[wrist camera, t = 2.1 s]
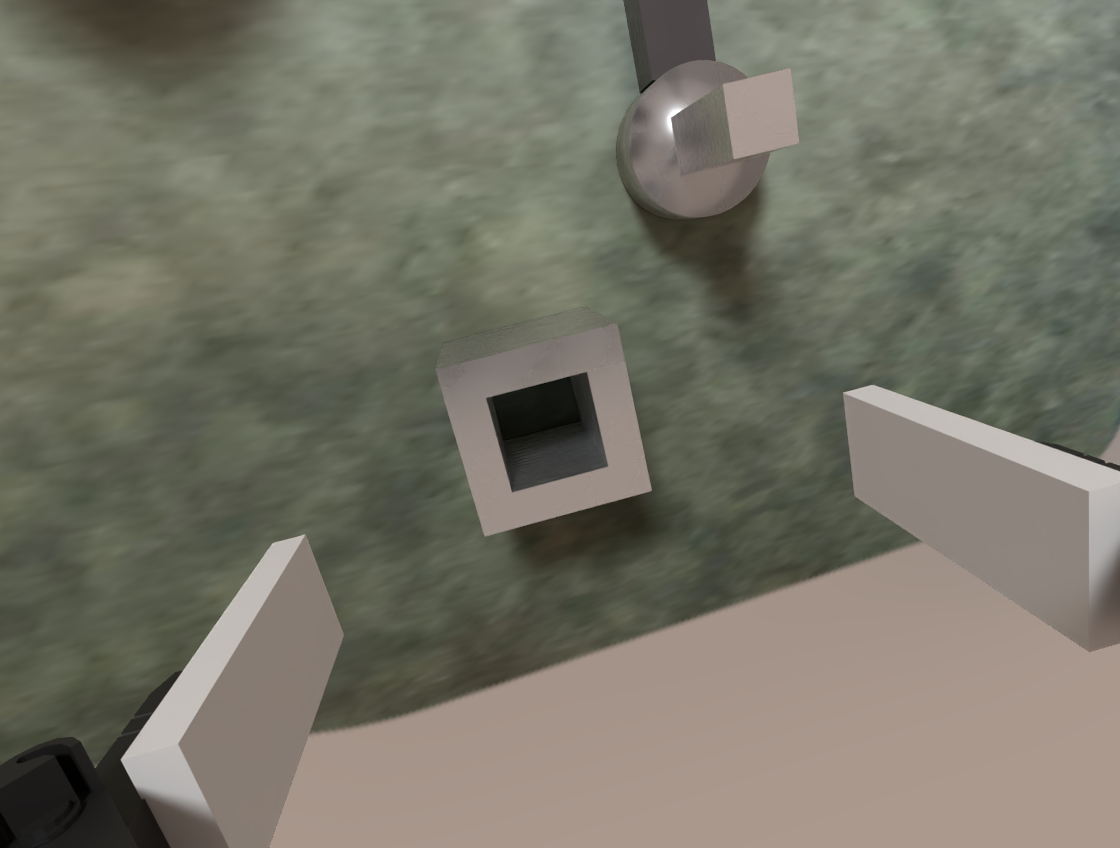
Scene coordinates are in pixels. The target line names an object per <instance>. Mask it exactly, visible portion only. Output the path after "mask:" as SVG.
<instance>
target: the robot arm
mask: <svg viewBox="0 0 1120 848" xmlns="http://www.w3.org/2000/svg"><path fill="white" fill-rule="evenodd" d="M843 397H844V406H845V415H846V424H847V432H848V441H849V450H850V459H851V468H852V477H853V485H854V494H855V497H857V498H858V499H860V500H861V501H863V502H864V503H866V504H867V505H869V506H870V507H872V508H873V509H875V510H876V511H878V512H879V513H881V514H882V515H884V516H885V517H887V518H888V519H890V520H891V521H893V522H894V523H896V524H897V525H899V526H900V527H902V528H903V529H905V530H906V531H908V532H909V533H911V534H912V535H914V536H915V537H917V538H918V539H920V540H921V541H923V542H924V543H926V544H927V545H929V546H931V547H932V548H934V549H935V550H937V551H938V552H940V553H941V554H943V555H944V556H946V557H947V558H949V559H950V560H952V561H953V562H955V563H956V564H958V565H959V566H961V567H962V568H964V569H965V570H967V571H968V572H970V573H971V574H973V575H974V576H976V577H977V578H979V579H980V580H982V581H983V582H985V583H986V584H988V585H989V586H991V587H992V588H994V589H995V590H997V591H998V592H1000V593H1001V594H1003V595H1004V596H1006V597H1007V598H1009V599H1010V600H1012V601H1014V602H1015V603H1016V604H1018V605H1019V606H1021V607H1022V608H1024V609H1025V610H1027V611H1028V612H1030V613H1031V614H1033V615H1034V616H1036V617H1037V618H1039V619H1040V620H1042V621H1043V622H1045V623H1046V624H1048V625H1049V626H1051V627H1052V628H1054V629H1055V630H1057V631H1058V632H1060V633H1061V634H1063V635H1064V636H1066V637H1068V638H1069V639H1070V640H1072V641H1073V642H1075V643H1077V644H1078V645H1079V646H1081V647H1082V648H1084V649H1086V650H1087V651H1088V652H1091V651H1095V650H1098V649H1101V648H1105V647H1109V646H1112V645H1115V644H1119V643H1120V466H1119V465H1116V464H1113V463H1105V461H1104V460H1101V459H1098V458H1095V457H1092V456H1090V455H1087V456H1084V454H1083V453H1081V452H1078V451H1075V450H1072V449H1069V448H1066V447H1063V446H1060V445H1057V444H1051V443H1044V442H1038V441H1031V440H1029V439H1026V438H1023V437H1020V436H1017V435H1014V434H1011V433H1009V432H1006V431H1003V430H1000V429H997V428H994V427H992V426H989V425H986V424H983V423H980V422H977V421H974V420H972V419H969V418H966V417H963V416H960V415H957V414H954V413H952V412H949V411H946V410H943V409H940V408H937V407H934V406H932V405H929V404H926V403H923V402H920V401H917V400H914V399H912V398H909V397H906V396H903V395H900V394H897V393H895V392H892V391H889V390H886V389H883V388H880V387H877V386H875V385H871V386H867V387H863V388H860V389H856V390H852V391H848V392H844V393H843ZM343 636H344V634H343V632H342V629H341V626H340V624H339V621H338V618H337V616H336V613H335V611H334V608H333V605H332V603H331V600H330V597H329V595H328V592H327V590H326V587H325V584H324V582H323V579H322V576H321V574H320V571H319V569H318V566H317V563H316V561H315V558H314V555H313V553H312V550H311V548H310V545H309V542H308V540H307V537H306V535H302V536H298V537H294V538H291V539H287V540H283V541H279V542H275V543H273V544H272V545H271V546H270V548H269V549H268V551H267V552H266V554H265V555H264V556H263V558H262V559H261V561H260V562H259V563H258V565H257V566H256V568H255V569H254V571H253V572H252V573H251V575H250V576H249V578H248V579H247V581H246V582H245V583H244V585H243V586H242V588H241V589H240V591H239V592H238V593H237V595H236V596H235V598H234V599H233V601H232V602H231V603H230V605H229V606H228V608H227V609H226V610H225V612H224V613H223V615H222V616H221V618H220V619H219V620H218V622H217V623H216V625H215V626H214V628H213V629H212V630H211V632H210V633H209V635H208V636H207V638H206V639H205V640H204V642H203V643H202V645H201V646H200V647H199V649H198V650H197V652H196V653H195V655H194V656H193V657H192V659H191V660H190V662H189V663H188V665H187V666H186V667H185V669H184V670H183V671H179V672H175V673H174V674H173V675H172V676H171V677H169V678H168V679H167V680H166V681H165V682H164V683H162V684H161V685H160V686H159V687H158V688H157V689H155V690H154V691H153V692H152V693H151V694H150V695H149V696H148V698H147V699H146V701H145V702H144V703H143V705H142V706H141V707H140V709H139V710H138V711H137V713H136V714H135V719H132V720H131V721H130V722H129V724H128V725H127V726H126V728H125V729H124V730H123V732H122V737H119V738H117V740H116V741H115V742H114V744H113V745H112V747H111V748H110V749H109V751H108V752H107V753H106V755H105V756H104V757H103V759H102V760H101V761H100V763H99V764H98V765H97V767H96V768H94V766H93V764H92V762H91V760H90V758H89V757H88V755H87V753H86V751H85V749H84V747H83V746H82V744H81V742H80V741H79V740H77V739H75V738H73V737H66V738H57V739H54V740H51V741H48V742H45V743H42V744H39V745H36V746H34V747H32V748H30V749H28V750H26V751H24V752H22V753H20V754H18V755H16V756H14V757H13V758H11V759H10V760H8V761H7V762H5V763H4V764H2V765H1V766H0V848H269V846H270V843H271V840H272V838H273V835H274V832H275V829H276V826H277V823H278V821H279V818H280V815H281V812H282V809H283V806H284V803H285V800H286V798H287V795H288V792H289V789H290V787H291V784H292V781H293V778H294V775H295V772H296V769H297V767H298V764H299V761H300V758H301V755H302V752H303V750H304V747H305V744H306V741H307V738H308V735H309V733H310V730H311V727H312V724H313V721H314V718H315V716H316V713H317V710H318V707H319V704H320V701H321V699H322V696H323V693H324V690H325V687H326V684H327V682H328V679H329V676H330V673H331V670H332V667H333V665H334V662H335V659H336V656H337V653H338V650H339V648H340V645H341V642H342V639H343Z"/></svg>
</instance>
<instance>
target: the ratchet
mask: <svg viewBox="0 0 1120 848" xmlns="http://www.w3.org/2000/svg"><path fill="white" fill-rule="evenodd" d="M623 1H624V6H625V12H626V17H627V23H628V29H629V34H630V40H631V45H632V51H633V56H634V62H635V68H636V73H637V79H638V84H639V90H640V92H641V91H644V92H643V93H641V94H640V95H639V96H638V97H637V98H636V99H635V101H634V102H633V103H632V104H631V106H630V107H629V109H628V110H627V112H626V114H625V116H624V118H623V119H622V122H621V125H620V128H619V132H618V136H617V143H616V159H617V166H618V170H619V174H620V177H621V179H622V182H623V184H624V186H625V188H626V190H627V191H628V193H629V194H630V195H631V197H632V198H633V199H634V200H635V201H636V202H637V203H638V204H639V205H640V206H641V207H643V208H644V209H645V210H647V211H648V212H650V213H652V214H654V215H657V216H659V217H662V218H666V219H674V220H682V219H692V218H700V217H708V216H713V215H717V214H720V213H723V212H725V211H727V210H729V209H731V208H733V207H734V206H736V205H737V204H739V203H740V202H741V201H742V200H743V199H745V198H746V197H747V196H748V195H749V194H750V192H751V191H752V190H753V189H754V187H755V186H756V185H757V183H758V182H759V180H760V178H761V176H762V175H763V172H764V170H765V168H766V165H767V162H768V159H769V155H770V152H773V151H776V150H779V149H783V148H786V147H789V146H792V145H796V144H799V138H798V129H797V120H796V112H795V103H794V95H793V86H792V77H791V69H785V70H781V71H777V72H773V73H768V74H764V75H760V76H756V77H751V78H748V77H746V76H745V75H744V74H743V73H742V72H740V71H739V70H737V69H736V68H734V67H732V66H730V65H727V64H724V63H721V62H718V61H716V59H715V52H714V45H713V39H712V32H711V25H710V18H709V11H708V4H707V0H623Z"/></svg>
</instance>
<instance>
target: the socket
mask: <svg viewBox="0 0 1120 848" xmlns="http://www.w3.org/2000/svg"><path fill="white" fill-rule="evenodd" d="M435 370H436V373H437V377H438V380H439V383H440V387H441V390H442V394H443V397H444V400H445V404H446V407H447V411H448V414H449V417H450V421H451V424H452V427H453V431H454V434H455V438H456V441H457V444H458V448H459V451H460V455H461V458H462V461H463V465H464V468H465V471H466V475H467V478H468V482H469V485H470V488H471V492H472V495H473V499H474V502H475V505H476V509H477V512H478V515H479V519H480V522H481V526H482V529H483V532H484V536H488V535H492V534H496V533H499V532H503V531H507V530H510V529H514V528H518V527H521V526H525V525H529V524H532V523H536V522H540V521H543V520H547V519H551V518H554V517H558V516H562V515H565V514H569V513H573V512H576V511H580V510H584V509H587V508H591V507H595V506H599V505H602V504H606V503H610V502H613V501H617V500H621V499H624V498H628V497H632V496H635V495H639V494H643V493H646V492H650V491H652V489H651V484H650V479H649V474H648V470H647V465H646V460H645V455H644V450H643V446H642V441H641V436H640V431H639V426H638V422H637V417H636V412H635V407H634V402H633V397H632V393H631V388H630V383H629V378H628V373H627V369H626V364H625V359H624V354H623V349H622V344H621V340H620V335H619V330H618V325H617V323H616V322H614V321H612V320H610V319H608V318H606V317H605V316H603V315H601V314H599V313H597V312H595V311H594V310H592V309H590V308H588V307H582V308H578V309H574V310H570V311H566V312H562V313H558V314H554V315H550V316H546V317H542V318H538V319H534V320H530V321H526V322H522V323H518V324H514V325H510V326H507V327H503V328H499V329H495V330H491V331H487V332H483V333H479V334H475V335H471V336H467V337H463V338H459V339H455V340H451V341H447V342H443V345H442V349H441V352H440V356H439V359H438V363H437V366H436V369H435ZM569 376H570V378H571V383H572V387H573V391H574V395H575V400H576V404H577V408H578V412H579V417H580V421H579V422H576V423H572V424H568V425H564V426H560V427H557V428H553V429H549V430H545V431H541V432H538V433H534V434H530V435H526V436H522V437H519V438H515V439H511V440H507V441H504V440H503V437H502V433H501V429H500V426H499V422H498V419H497V415H496V411H495V408H494V404H493V400H492V396H496V395H499V394H503V393H507V392H511V391H515V390H519V389H523V388H526V387H530V386H534V385H538V384H542V383H546V382H550V381H553V380H557V379H561V378H565V377H569Z"/></svg>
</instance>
